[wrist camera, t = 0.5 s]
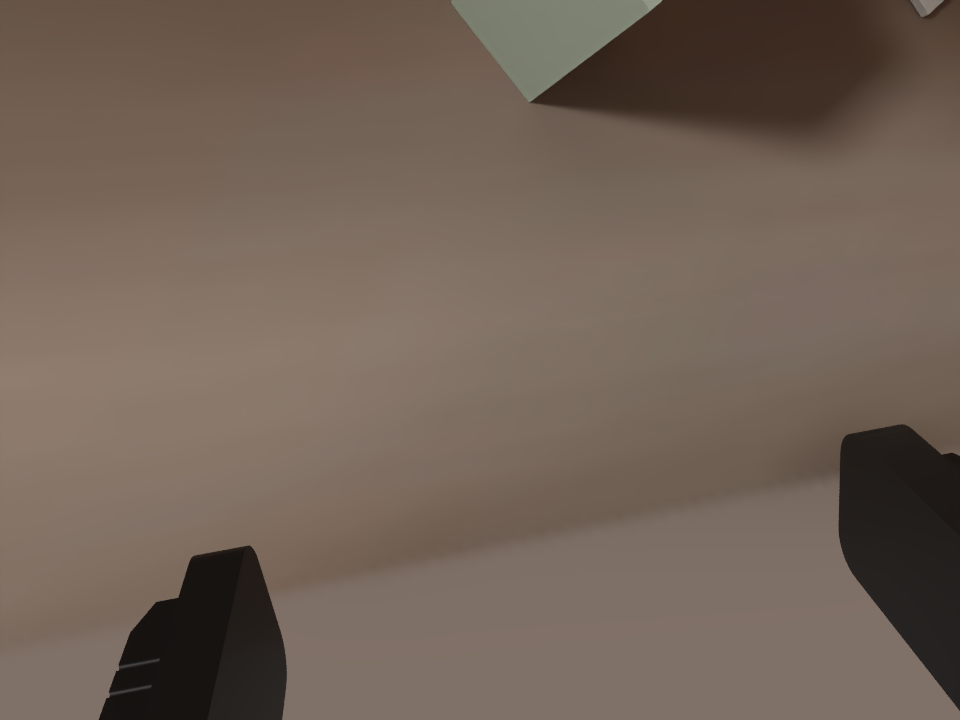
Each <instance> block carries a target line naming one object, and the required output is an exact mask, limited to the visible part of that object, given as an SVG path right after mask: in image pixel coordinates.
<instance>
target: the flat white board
mask: <svg viewBox="0 0 960 720" xmlns="http://www.w3.org/2000/svg"><path fill="white" fill-rule="evenodd" d="M910 1H911V2H912V4H913V5H914V7H915V8H916V10H917V11H918V13H919V14H920V16H921V17H924V16H926V15H929V14H930V13H931V12H932V11H933V10H934V9H935V8H936V7H937V6H938V5H939V4H941V3H942V2H943V1H944V0H910Z"/></svg>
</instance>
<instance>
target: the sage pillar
mask: <svg viewBox="0 0 960 720" xmlns="http://www.w3.org/2000/svg"><path fill="white" fill-rule="evenodd" d="M661 1H662V0H452V1H451V4H452V5H453V6H454V8H455V9H456V10H457V11H458V13H459V14H460V15H461V17H462V18H463V19H464V20H465V22H466V23H467V24H468V25H469V27H470V28H471V29H472V30H473V32H474V33H475V34H476V36H477V37H478V38H479V39H480V41H481V42H482V43H483V44H484V46H485V47H486V48H487V50H488V51H489V52H490V53H491V55H492V56H493V57H494V58H495V60H496V61H497V62H498V63H499V65H500V66H501V67H502V69H503V70H504V71H505V72H506V74H507V75H508V76H509V77H510V79H511V80H512V81H513V83H514V84H515V85H516V86H517V88H518V89H519V90H520V91H521V93H522V94H523V95H524V96H525V98H526V99H527V100H528V102H529V103H530V102H531V101H532V100H533V99H535V98H536V97H537V96H539V95H540V94H541V93H543V92H544V91H545V90H547V89H548V88H549V87H551V86H552V85H553V84H555V83H556V82H557V81H559V80H560V79H561V78H563V77H564V76H565V75H566V74H568V73H569V72H570V71H572V70H573V69H574V68H576V67H577V66H578V65H580V64H581V63H582V62H584V61H585V60H586V59H588V58H589V57H590V56H592V55H593V54H594V53H596V52H597V51H598V50H599V49H601V48H602V47H603V46H605V45H606V44H607V43H609V42H610V41H611V40H613V39H614V38H615V37H617V36H618V35H619V34H621V33H622V32H623V31H625V30H626V29H627V28H629V27H630V26H631V25H633V24H634V23H635V22H636V21H638V20H639V19H640V18H642V17H643V16H644V15H646V14H647V13H648V12H650V11H651V10H652V9H653V8H654V7H656V6H657V5H658V4H659V3H660V2H661Z"/></svg>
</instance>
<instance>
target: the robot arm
mask: <svg viewBox="0 0 960 720" xmlns="http://www.w3.org/2000/svg"><path fill="white" fill-rule="evenodd" d="M839 538H840V543H841V547H842V551H843V554H844V557H845V560H846V562H847V564H848V566H849V568H850V570H851V572H852V573H853V575H854V576H855V577H856V579H857V580H858V581H859V583H860V584H861V585H862V586H863V588H864V589H865V590H866V592H867V593H868V594H869V595H870V597H871V598H872V599H873V601H874V602H875V603H876V604H877V606H878V607H879V608H880V610H881V611H882V612H883V613H884V615H885V616H886V617H887V618H888V620H889V621H890V622H891V624H892V625H893V626H894V627H895V629H896V630H897V631H898V632H899V634H900V635H901V636H902V638H903V639H904V640H905V641H906V643H907V644H908V645H909V646H910V648H911V649H912V650H913V652H914V653H915V654H916V655H917V657H918V658H919V659H920V661H922V663H923V664H924V666H925V667H926V668H927V669H928V671H929V672H930V673H931V675H932V676H933V677H934V678H935V680H936V681H937V682H938V683H939V685H940V686H941V687H942V688H943V690H944V691H945V692H946V694H947V695H948V696H949V697H950V699H951V700H952V701H953V703H954V704H955V705H956V706H957V708H958V709H959V710H960V456H959V455H956V454H954V453H948V454H943V455H941V454H940V453H939V452H938V451H937V450H936V449H935V448H933V447H932V446H931V445H930V444H929V443H928V442H926V441H925V440H924V439H923V438H922V437H921V436H919V435H918V434H917V433H916V432H915V431H914V430H913V429H911V428H910V427H909V426H906V425H902V424H901V425H895V426H890V427H885V428H879V429H874V430H869V431H863V432H858V433H853V434H848V435H846V436H845V438H844V439H843V441H842V445H841V453H840V493H839ZM286 670H287V668H286V656H285V649H284V644H283V639H282V635H281V631H280V628H279V625H278V622H277V619H276V615H275V612H274V609H273V606H272V602H271V599H270V596H269V593H268V590H267V586H266V583H265V580H264V577H263V574H262V570H261V567H260V564H259V561H258V558H257V555H256V553H255V551H254V549H253V548H252V547H251V546H243V547H238V548H233V549H228V550H222V551H217V552H212V553H206V554H201V555H196V556H193V557H192V558H191V560H190V562H189V565H188V568H187V572H186V575H185V578H184V581H183V585H182V588H181V591H180V594H179V598H175V599H170V600H165V601H159V602H156V603H155V604H154V605H153V607H152V608H151V609H150V610H149V611H148V612H147V614H146V615H145V616H144V617H143V618H142V619H141V621H140V622H139V623H138V624H137V625H136V627H135V628H134V629H133V630H132V631H131V632H130V635H129V637H128V640H127V643H126V646H125V648H124V651H123V654H122V657H121V660H120V662H119V671H116V674H115V676H114V679H113V682H112V685H111V687H110V690H109V693H110V697H109V698H107V699H106V701H105V704H104V707H103V709H102V712H101V715H100V718H99V720H282V716H283V707H284V699H285V690H286V679H287V671H286Z"/></svg>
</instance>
